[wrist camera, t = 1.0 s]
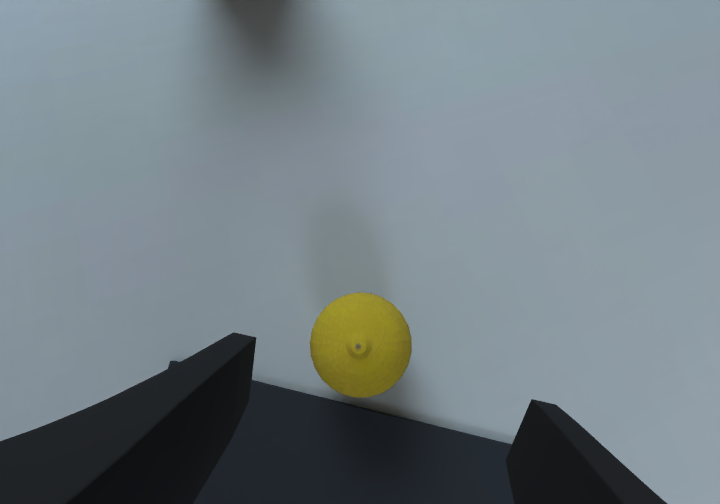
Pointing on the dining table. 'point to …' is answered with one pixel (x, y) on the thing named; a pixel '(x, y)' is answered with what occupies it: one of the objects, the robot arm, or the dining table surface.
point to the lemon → (360, 345)
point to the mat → (350, 457)
